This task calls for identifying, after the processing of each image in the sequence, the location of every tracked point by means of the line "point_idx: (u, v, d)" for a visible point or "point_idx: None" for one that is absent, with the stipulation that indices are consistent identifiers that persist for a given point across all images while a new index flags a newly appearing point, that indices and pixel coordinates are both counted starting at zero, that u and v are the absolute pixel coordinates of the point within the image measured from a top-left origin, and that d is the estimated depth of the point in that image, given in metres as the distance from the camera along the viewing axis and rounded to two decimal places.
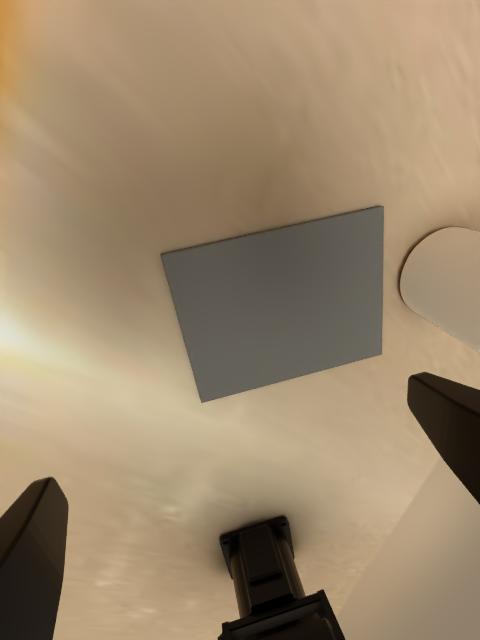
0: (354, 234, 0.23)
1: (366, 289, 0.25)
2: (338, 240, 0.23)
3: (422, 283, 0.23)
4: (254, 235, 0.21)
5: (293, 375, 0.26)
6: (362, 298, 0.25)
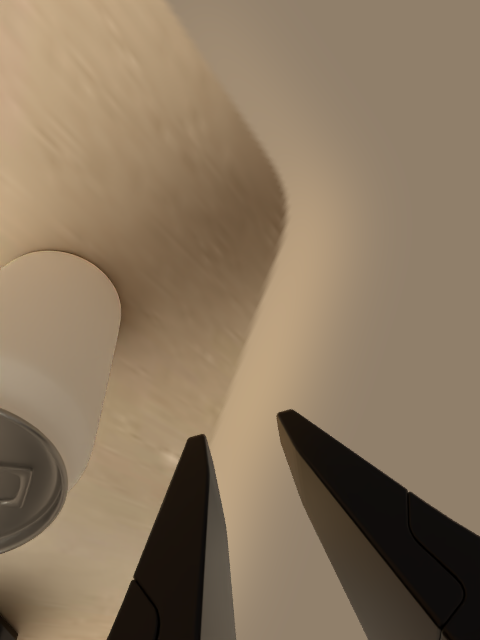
0: None
1: None
2: None
3: None
4: None
5: None
6: None
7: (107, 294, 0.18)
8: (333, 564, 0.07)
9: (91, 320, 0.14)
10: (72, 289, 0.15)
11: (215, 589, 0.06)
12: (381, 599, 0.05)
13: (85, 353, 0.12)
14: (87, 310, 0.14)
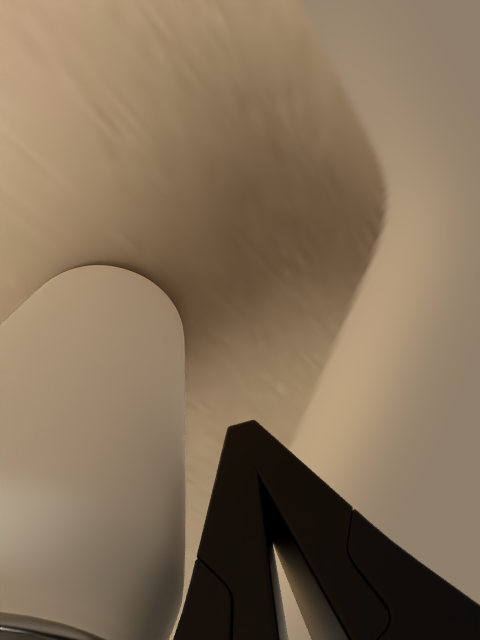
0: None
1: None
2: None
3: None
4: None
5: None
6: None
7: (172, 323, 0.13)
8: (288, 579, 0.07)
9: (163, 371, 0.10)
10: (134, 324, 0.11)
11: (273, 570, 0.06)
12: (321, 620, 0.05)
13: (164, 435, 0.08)
14: (156, 356, 0.10)
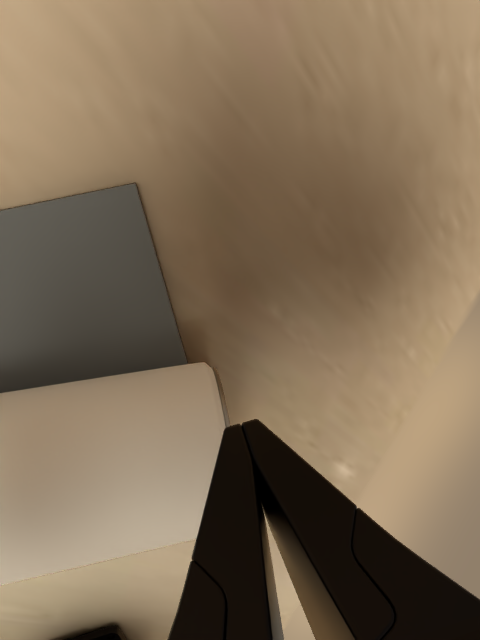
0: (92, 232, 0.13)
1: (144, 322, 0.15)
2: (63, 243, 0.13)
3: (147, 380, 0.13)
4: None
5: None
6: (141, 335, 0.15)
7: None
8: (291, 578, 0.07)
9: None
10: (106, 560, 0.12)
11: (268, 572, 0.06)
12: (325, 619, 0.05)
13: None
14: None
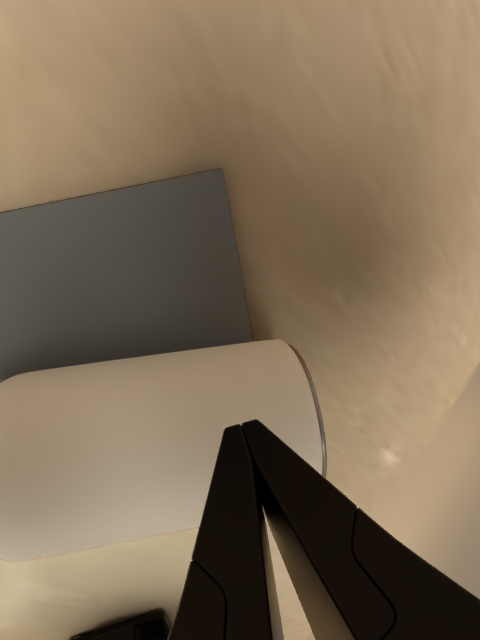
0: (178, 216, 0.14)
1: (218, 305, 0.16)
2: (151, 226, 0.14)
3: (228, 349, 0.14)
4: None
5: None
6: (214, 318, 0.16)
7: None
8: (291, 578, 0.07)
9: None
10: (191, 525, 0.12)
11: (268, 571, 0.06)
12: (325, 619, 0.05)
13: None
14: None
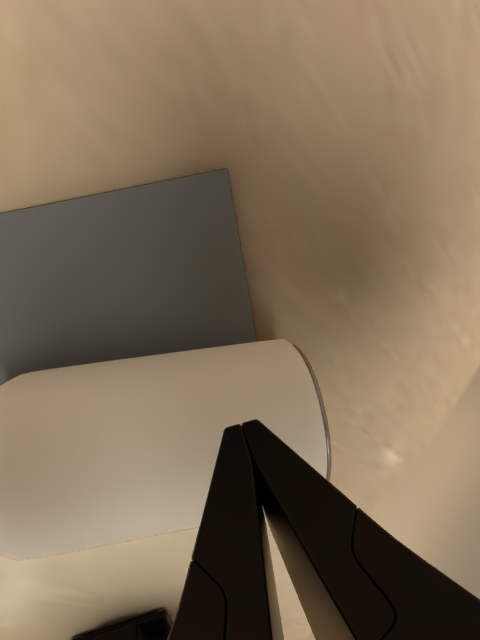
0: (183, 216, 0.14)
1: (222, 305, 0.16)
2: (156, 226, 0.14)
3: (233, 349, 0.14)
4: None
5: None
6: (218, 318, 0.16)
7: None
8: (291, 578, 0.07)
9: None
10: (197, 525, 0.12)
11: (268, 571, 0.06)
12: (325, 618, 0.05)
13: None
14: (175, 531, 0.13)
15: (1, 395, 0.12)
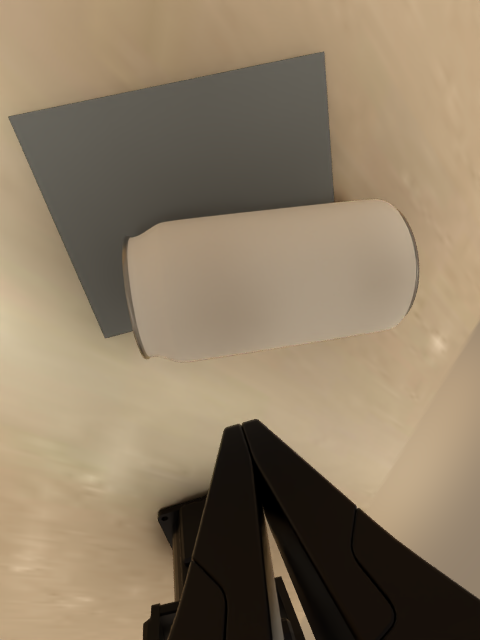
0: (286, 94, 0.17)
1: (310, 180, 0.19)
2: (264, 103, 0.17)
3: (329, 203, 0.17)
4: (142, 90, 0.16)
5: None
6: (306, 193, 0.19)
7: (353, 335, 0.17)
8: (291, 578, 0.07)
9: (280, 345, 0.16)
10: (312, 329, 0.15)
11: (268, 572, 0.06)
12: (325, 619, 0.05)
13: (231, 354, 0.16)
14: (291, 342, 0.16)
15: (159, 226, 0.15)
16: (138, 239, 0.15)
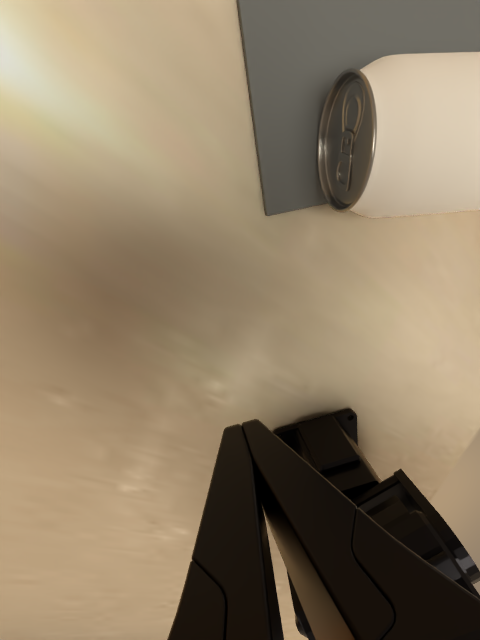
0: None
1: None
2: None
3: None
4: None
5: None
6: None
7: None
8: (291, 578, 0.07)
9: None
10: None
11: (268, 572, 0.06)
12: (325, 619, 0.05)
13: (440, 203, 0.16)
14: None
15: None
16: (365, 68, 0.14)
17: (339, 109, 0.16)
